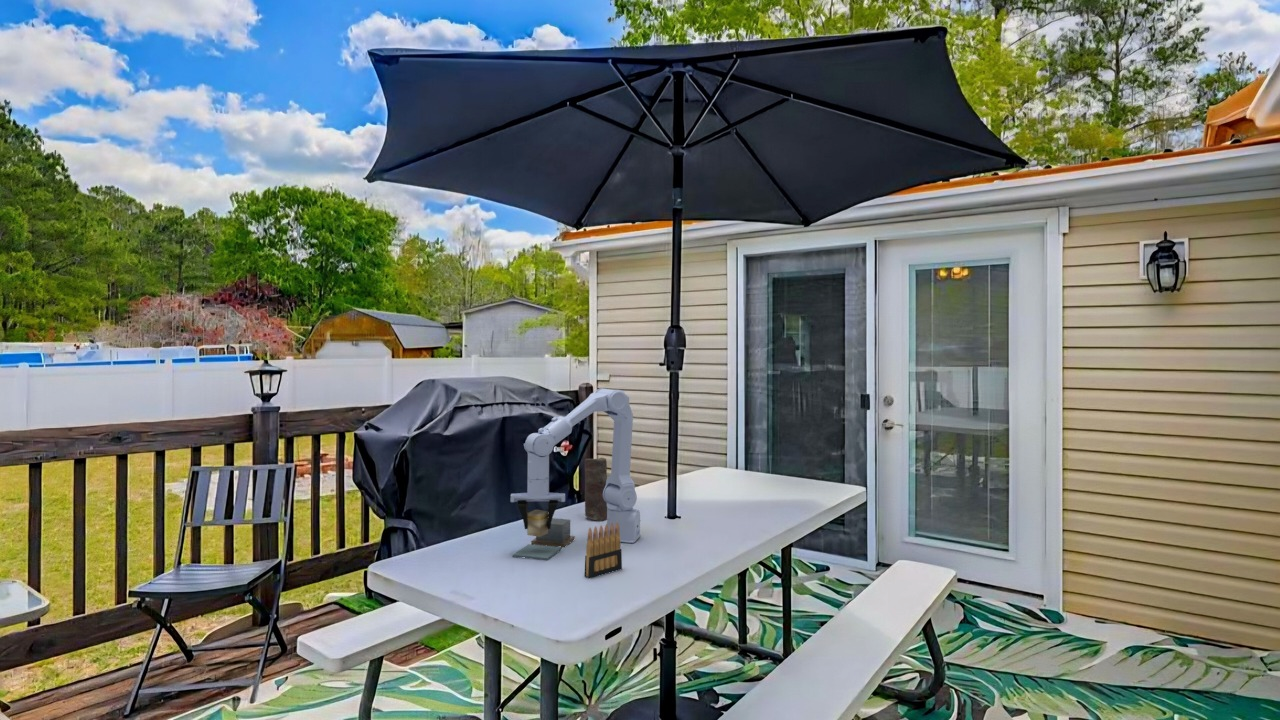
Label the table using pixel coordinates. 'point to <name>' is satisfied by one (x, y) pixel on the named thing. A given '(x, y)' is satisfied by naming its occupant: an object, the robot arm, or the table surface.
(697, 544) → the table surface
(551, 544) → the mounted unit
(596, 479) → the candle
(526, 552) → the mat
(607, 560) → the ammunition clip
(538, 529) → the block
